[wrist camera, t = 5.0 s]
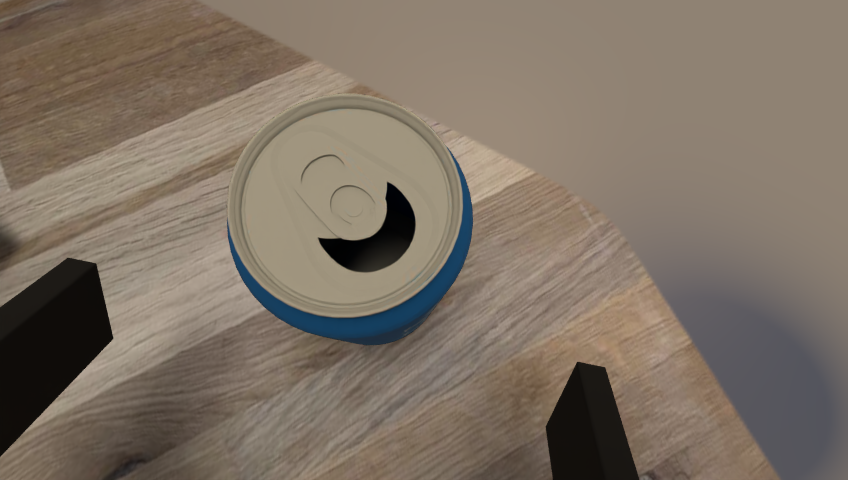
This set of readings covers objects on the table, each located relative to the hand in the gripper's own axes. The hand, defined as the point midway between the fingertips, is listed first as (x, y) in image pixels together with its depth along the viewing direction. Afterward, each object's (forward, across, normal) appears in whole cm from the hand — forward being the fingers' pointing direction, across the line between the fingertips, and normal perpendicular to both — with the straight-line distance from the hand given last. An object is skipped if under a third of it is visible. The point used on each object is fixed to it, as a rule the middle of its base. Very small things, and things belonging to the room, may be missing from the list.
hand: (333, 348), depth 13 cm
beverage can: (+9, 0, -4) cm, 10 cm away
